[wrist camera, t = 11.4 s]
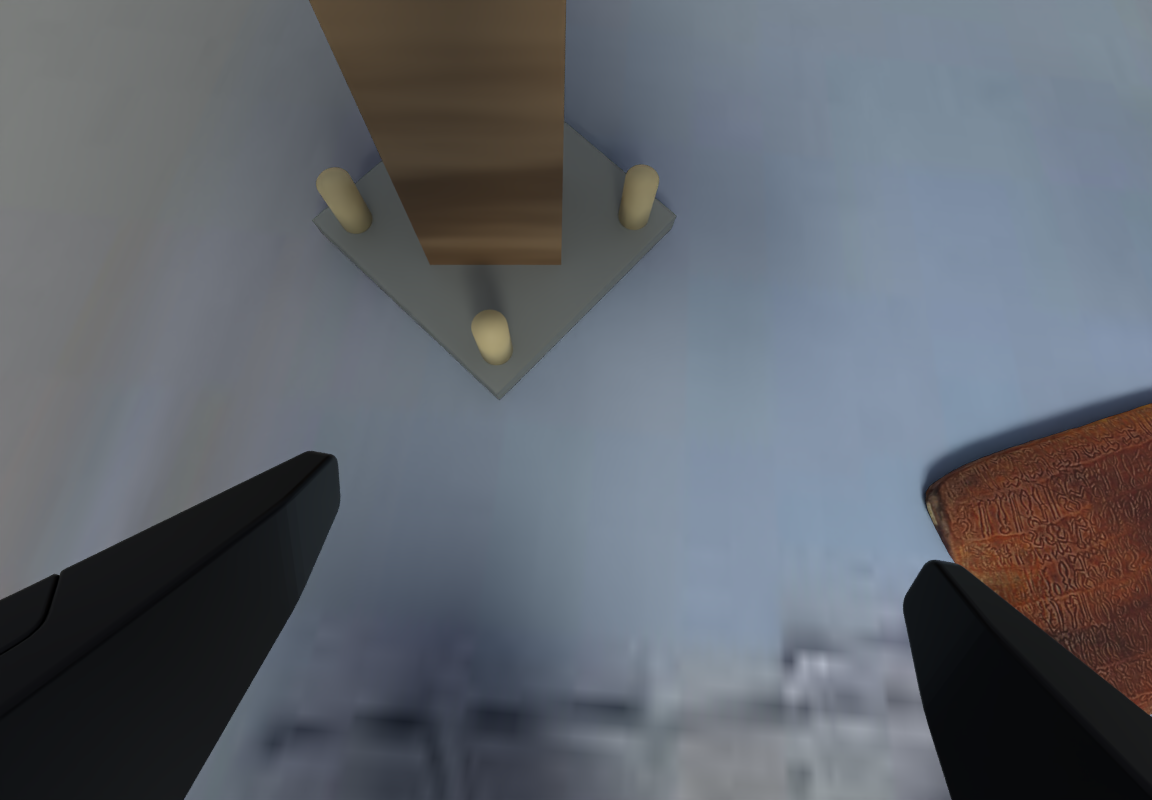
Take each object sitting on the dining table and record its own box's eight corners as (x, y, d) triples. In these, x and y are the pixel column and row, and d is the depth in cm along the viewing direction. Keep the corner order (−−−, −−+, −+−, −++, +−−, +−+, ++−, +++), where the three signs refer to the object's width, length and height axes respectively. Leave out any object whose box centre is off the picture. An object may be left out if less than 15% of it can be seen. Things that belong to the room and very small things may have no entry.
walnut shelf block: (561, 264, 23) (566, -34, 11) (429, 264, 23) (292, -37, 11) (560, 172, 24) (564, -197, 12) (434, 171, 24) (310, -204, 12)
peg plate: (499, 400, 23) (489, 376, 20) (321, 232, 25) (284, 183, 21) (671, 228, 25) (689, 179, 22) (498, 81, 26) (489, 12, 23)
